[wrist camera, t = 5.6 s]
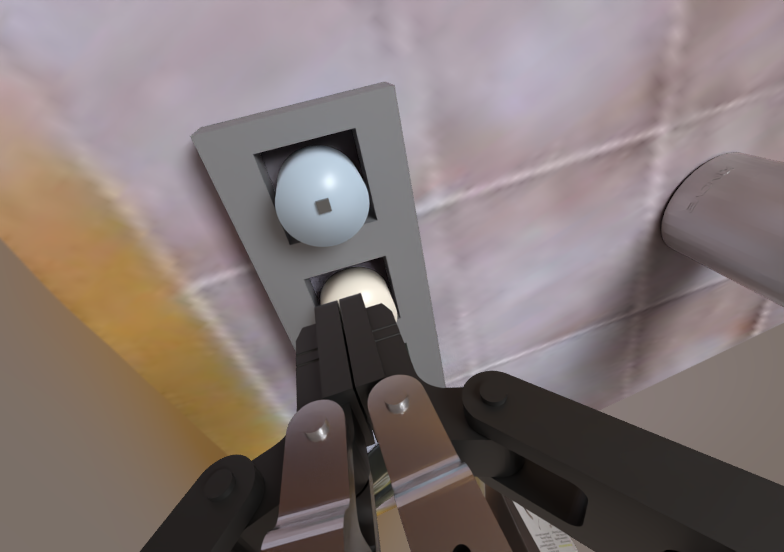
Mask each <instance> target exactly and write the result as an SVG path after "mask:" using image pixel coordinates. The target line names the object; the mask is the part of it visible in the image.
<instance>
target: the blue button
mask: <svg viewBox="0 0 784 552" xmlns="http://www.w3.org/2000/svg"><path fill="white" fill-rule="evenodd" d="M275 208H276V213H277V216H278V219H279V221H280V223H281V224H282V226H283V227H284V229H285V230H286V231H287V232H288V233H289V234H290V235H291V236H292V237H294V238H295V239H297V240H298V241H300V242H302V243H305V244H307V245H311V246H317V247H329V246H334V245H338V244H341V243H343V242H345V241H347V240H349V239H350V238H352V237H353V236H354V235H355V234H356V233H357V232H358V231H359V230H360V229H361V227H362V226H363V224H364V223H365V221H366V218H367V215H368V211H369V195H368V191H367V188H366V186H365V183H364V181H363V180H362V178H361V176H360V174H359V172H358V170H357V169H356V167H355V165H354V164H353V162H352V161H351V160H350V159H349V158H348V157H347V156H346V155H345V154H343V153H342V152H341V151H339V150H337V149H335V148H332V147H328V146H323V145H312V146H307V147H304V148H301V149H299V150H297V151H295V152H294V153H292V154H291V155H290V156H289V157H288V158H287V159H286V160H285V162H284V163H283V165H282V166H281V168H280V171H279V174H278V178H277V187H276V197H275Z"/></svg>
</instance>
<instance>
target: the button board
mask: <svg viewBox="0 0 784 552" xmlns="http://www.w3.org/2000/svg"><path fill="white" fill-rule="evenodd" d="M349 129H352V133H353V137H354V141H355V145H356V149H357V153H358V157H359V161H360V165H361V169H362V174H363V178H364V182H365V186H366V188H367V191H368V195H369V202H370V206H371V207H369V211H368V215H367V218H366V221H365V223H364V224H363V226H362V227H361V229H360V230H359V231H358V232H357V233H356V234H355V235H354V236H353V237H352V238H350V239H349V240H347V241H345V242H343V243H341V244H338V245H334V246H329V247H317V246H311V245H307V244H305V243H302V242H300V241H298V240H297V239H295V238H294V237H292V236H291V235H290V234H289V233H288V232H287V231H286V230H285V229H284V227H283V226H282V224H281V223H280V221H279V219H278V216H277V213H276V208H275V197H276V192H275V190H274V187H273V185H272V182H271V180H270V177H269V175H268V172H267V170H266V167H265V165H264V162H263V160H262V157H261V154H260V152H264V151H268V150H272V149H275V148H279V147H283V146H287V145H291V144H295V143H299V142H302V141H306V140H310V139H314V138H318V137H322V136H326V135H330V134H333V133H337V132H341V131H345V130H349ZM190 137H191V139H192V141H193V143H194V145H195V147H196V149H197V151H198V153H199V155H200V157H201V159H202V161H203V163H204V165H205V167H206V169H207V171H208V173H209V175H210V178H211V180H212V182H213V184H214V186H215V188H216V190H217V192H218V194H219V196H220V198H221V200H222V202H223V204H224V206H225V208H226V210H227V212H228V214H229V216H230V218H231V220H232V223H233V225H234V227H235V229H236V231H237V233H238V235H239V237H240V239H241V241H242V243H243V245H244V247H245V249H246V251H247V253H248V255H249V257H250V259H251V261H252V263H253V265H254V268H255V270H256V272H257V274H258V276H259V278H260V280H261V282H262V284H263V286H264V288H265V290H266V292H267V294H268V296H269V298H270V300H271V302H272V304H273V306H274V308H275V310H276V312H277V315H278V317H279V319H280V321H281V323H282V325H283V327H284V329H285V331H286V333H287V335H288V337H289V339H290V341H291V343H292V345H293V347H294V349H295V351H296V340H297V338H298V336H299V333H300V331H301V329H302V328H303V327H306V326H310V325H313V324H316V323H315V312H314V307H316V306H319V305H320V304H319V301H318V299H317V296H316V294H315V291H314V289H313V286H312V284H311V281H310V279H309V278H311V277H314V276H318V275H321V274H325V273H328V272H331V271H335V270H338V269H342V268H345V267H348V266H352V265H355V264H359V263H362V262H366V261H369V260H372V259H376V258H379V257H383V259H384V264H385V268H386V272H387V276H388V280H389V284H390V288H391V292H392V296H393V302H394V304H395V307H396V310H397V322H396V323H397V325H398V328H399V331H400V333H401V336H402V338H403V341H404V343H405V346H406V349H407V351H408V354H409V356H410V359H411V362H412V364H413V367H414V369H415V372H416V374H417V375H418V376H419V378H421V379H422V380H423V381H424V382H426V383H427V384H430V385H432V386H435V387H441V388H446V386H445V380H444V374H443V368H442V362H441V356H440V350H439V344H438V338H437V333H436V327H435V321H434V315H433V309H432V303H431V297H430V291H429V285H428V280H427V274H426V268H425V262H424V256H423V250H422V244H421V238H420V232H419V227H418V221H417V215H416V209H415V203H414V197H413V191H412V185H411V179H410V174H409V168H408V162H407V156H406V150H405V144H404V138H403V132H402V126H401V121H400V115H399V109H398V103H397V97H396V91H395V85H393V84H390V83H387V82H381V83H377V84H373V85H369V86H365V87H361V88H357V89H353V90H349V91H345V92H341V93H337V94H333V95H329V96H325V97H321V98H317V99H313V100H309V101H305V102H301V103H297V104H293V105H289V106H285V107H281V108H277V109H273V110H269V111H265V112H261V113H257V114H253V115H249V116H245V117H241V118H237V119H233V120H229V121H225V122H221V123H217V124H213V125H209V126H205V127H201V128H199V129H198V130H197V131H196V132H195V133H194V134H192V135H191V136H190Z"/></svg>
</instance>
